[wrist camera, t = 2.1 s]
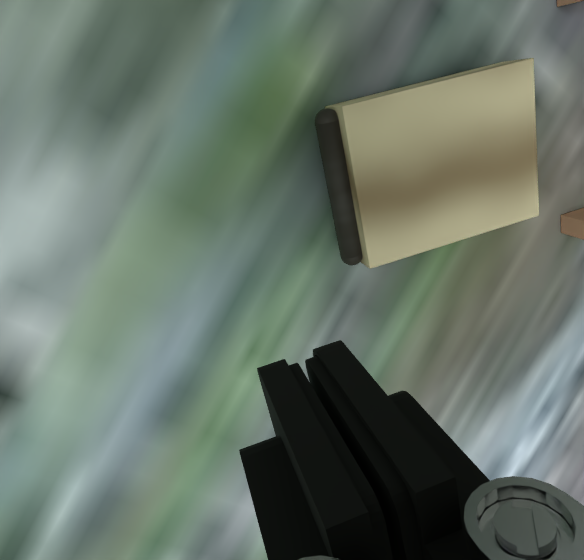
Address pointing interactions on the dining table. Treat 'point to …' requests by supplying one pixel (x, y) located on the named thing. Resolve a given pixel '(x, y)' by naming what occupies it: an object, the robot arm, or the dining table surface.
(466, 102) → the beige rectangular block
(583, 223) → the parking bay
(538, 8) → the dining table surface
